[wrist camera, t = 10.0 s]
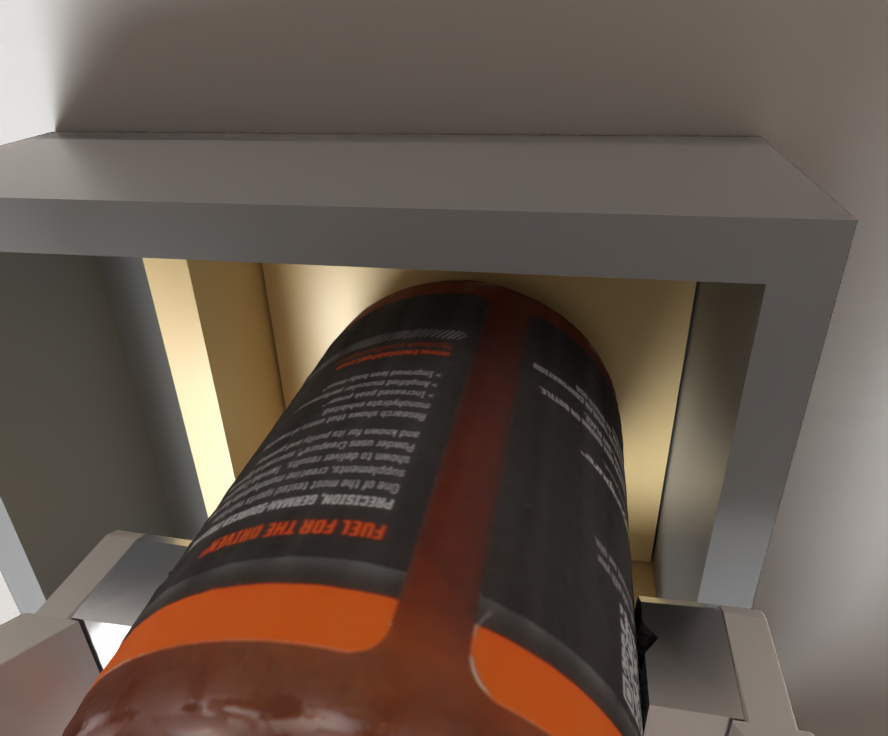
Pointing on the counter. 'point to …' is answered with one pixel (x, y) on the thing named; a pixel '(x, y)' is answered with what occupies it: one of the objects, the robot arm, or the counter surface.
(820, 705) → the counter surface
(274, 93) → the counter surface
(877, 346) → the counter surface
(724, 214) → the walled box
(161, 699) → the supplement bottle
